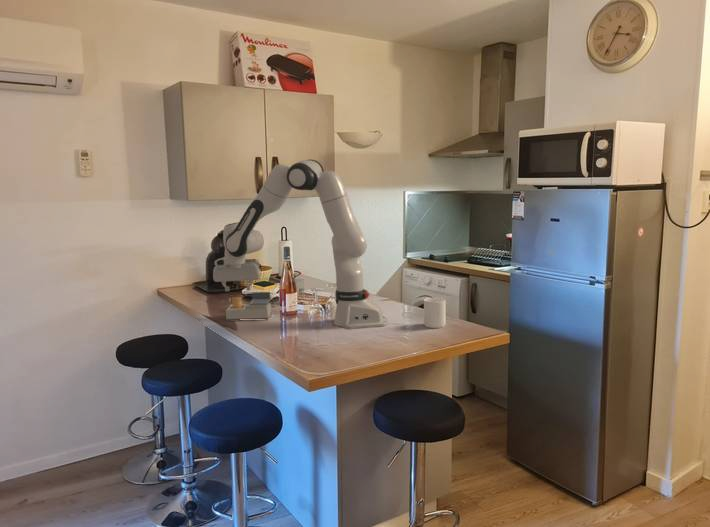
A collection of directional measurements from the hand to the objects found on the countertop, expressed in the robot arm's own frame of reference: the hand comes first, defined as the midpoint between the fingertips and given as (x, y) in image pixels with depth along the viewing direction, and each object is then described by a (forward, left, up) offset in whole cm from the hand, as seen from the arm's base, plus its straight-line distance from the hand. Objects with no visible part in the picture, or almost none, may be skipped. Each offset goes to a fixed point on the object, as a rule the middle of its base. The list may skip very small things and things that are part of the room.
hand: (238, 290), depth 239 cm
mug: (-84, +22, -13) cm, 88 cm away
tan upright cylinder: (+1, +1, -11) cm, 11 cm away
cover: (-8, -6, -7) cm, 12 cm away
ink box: (-21, -27, -13) cm, 36 cm away
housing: (-4, 0, -12) cm, 13 cm away
